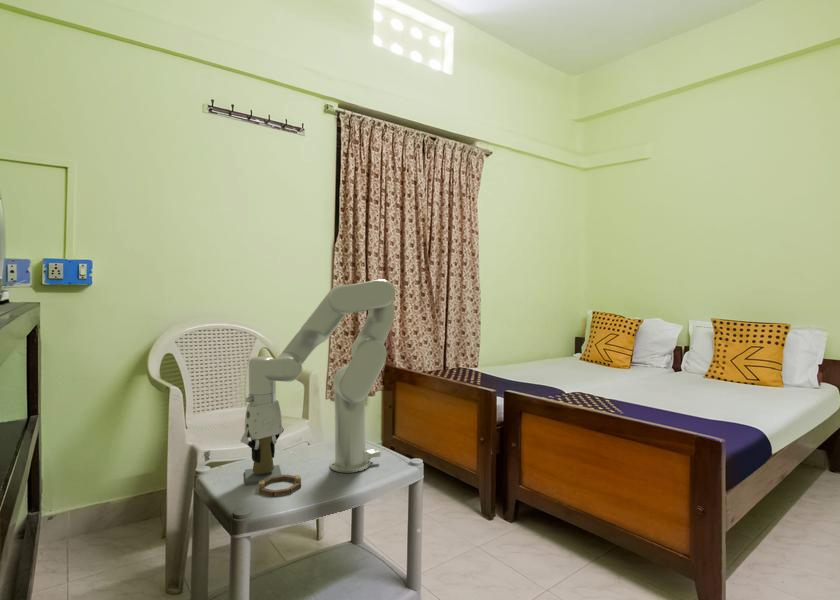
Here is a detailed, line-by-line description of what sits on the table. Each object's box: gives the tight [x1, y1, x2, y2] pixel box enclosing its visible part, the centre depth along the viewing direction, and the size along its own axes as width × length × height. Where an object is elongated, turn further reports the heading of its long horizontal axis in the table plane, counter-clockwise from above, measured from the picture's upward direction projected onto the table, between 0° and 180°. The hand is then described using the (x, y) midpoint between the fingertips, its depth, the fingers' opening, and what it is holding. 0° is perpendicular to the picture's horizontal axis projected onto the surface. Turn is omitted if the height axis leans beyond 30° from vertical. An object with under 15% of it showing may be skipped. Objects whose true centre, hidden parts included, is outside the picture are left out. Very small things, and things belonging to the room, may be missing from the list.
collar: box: [258, 474, 302, 498], centre depth 129 cm, size 11×11×2 cm
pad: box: [244, 464, 283, 486], centre depth 137 cm, size 10×10×1 cm
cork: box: [252, 436, 274, 474], centre depth 136 cm, size 6×6×11 cm
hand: (263, 458), depth 136 cm, fingers closed on cork, 4 cm apart
